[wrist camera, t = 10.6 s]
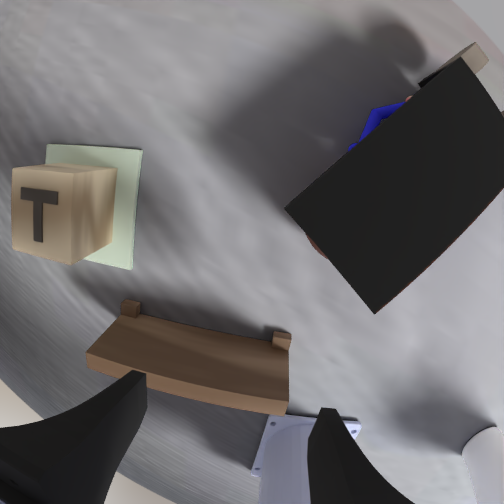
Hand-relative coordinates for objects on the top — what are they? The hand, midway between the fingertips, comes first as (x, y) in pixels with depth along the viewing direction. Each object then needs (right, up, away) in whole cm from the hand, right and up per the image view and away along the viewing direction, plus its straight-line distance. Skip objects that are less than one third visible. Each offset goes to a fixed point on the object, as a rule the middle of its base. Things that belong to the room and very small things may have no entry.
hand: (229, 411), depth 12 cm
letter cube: (-11, +10, +8) cm, 17 cm away
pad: (-11, +10, +8) cm, 17 cm away
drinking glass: (+26, -15, +12) cm, 32 cm away
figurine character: (+10, +12, +6) cm, 17 cm away
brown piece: (-3, 0, +10) cm, 11 cm away
